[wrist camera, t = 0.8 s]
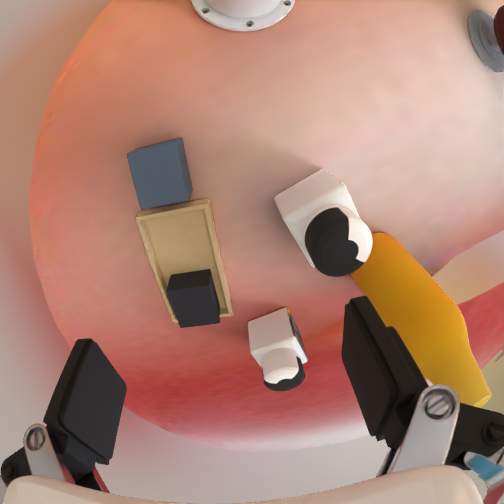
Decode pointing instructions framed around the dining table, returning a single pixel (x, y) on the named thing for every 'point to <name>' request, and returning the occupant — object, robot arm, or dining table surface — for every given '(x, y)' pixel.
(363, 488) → the robot arm
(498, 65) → the mate gourd
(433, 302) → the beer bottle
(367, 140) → the dining table surface
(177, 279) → the pad
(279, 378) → the medicine bottle
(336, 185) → the container
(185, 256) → the wooden tray
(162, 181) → the blue block
